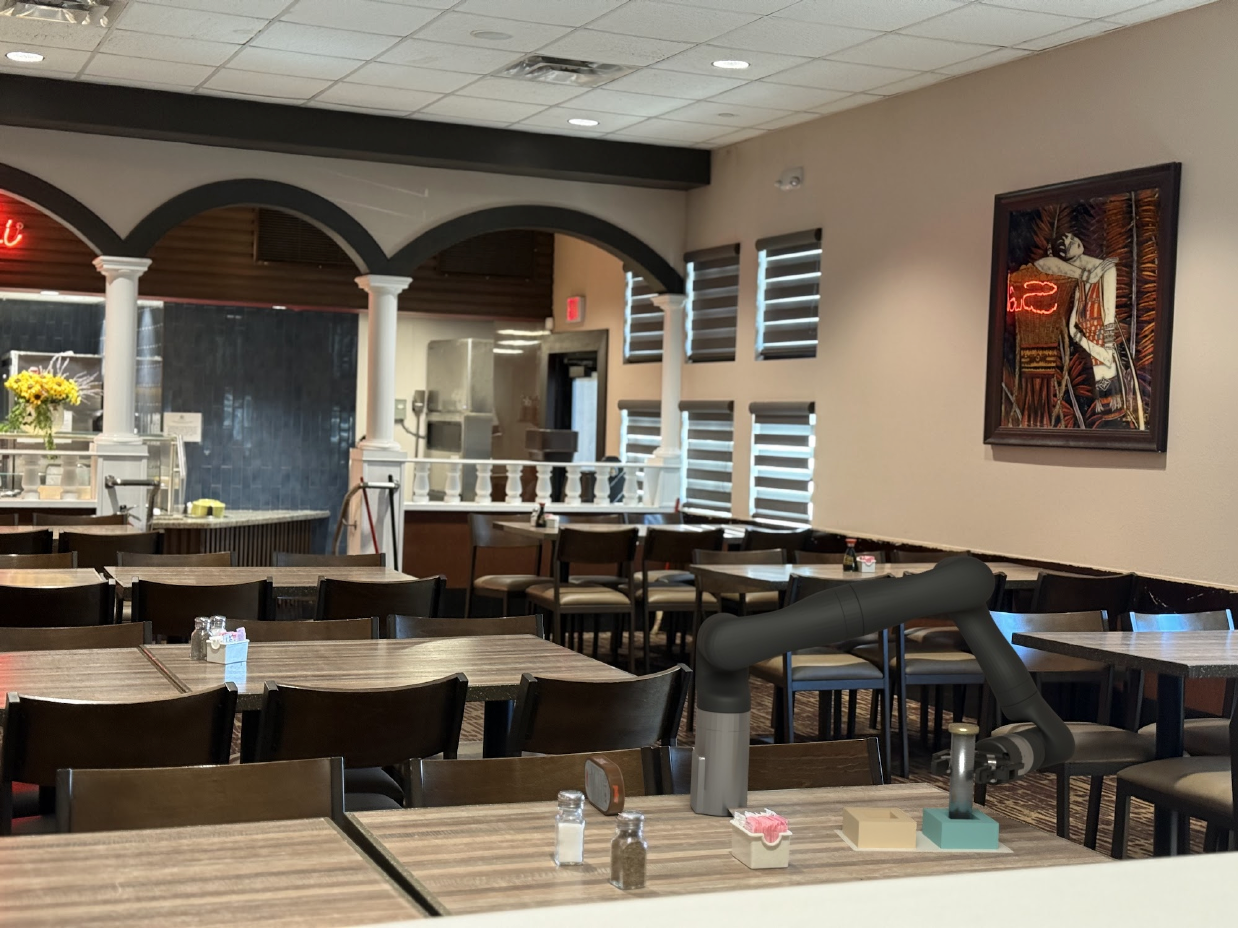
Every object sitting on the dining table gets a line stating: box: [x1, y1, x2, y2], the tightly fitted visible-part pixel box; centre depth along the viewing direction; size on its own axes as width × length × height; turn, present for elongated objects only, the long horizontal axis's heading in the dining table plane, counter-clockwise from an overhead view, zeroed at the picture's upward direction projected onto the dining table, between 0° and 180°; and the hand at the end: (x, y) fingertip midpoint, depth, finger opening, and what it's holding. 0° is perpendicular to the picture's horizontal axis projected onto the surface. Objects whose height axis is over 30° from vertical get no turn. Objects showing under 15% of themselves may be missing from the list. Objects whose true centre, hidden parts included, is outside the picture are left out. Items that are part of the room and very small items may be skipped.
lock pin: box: [948, 722, 980, 820], centre depth 226 cm, size 5×5×18 cm
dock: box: [833, 806, 1015, 854], centre depth 225 cm, size 25×12×6 cm, turn 96°
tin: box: [583, 754, 626, 816], centre depth 243 cm, size 15×3×8 cm, turn 19°
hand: (955, 772), depth 224 cm, fingers open, 6 cm apart
